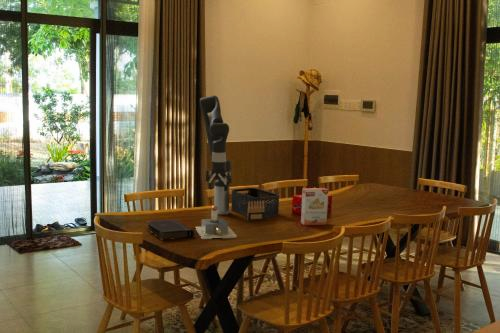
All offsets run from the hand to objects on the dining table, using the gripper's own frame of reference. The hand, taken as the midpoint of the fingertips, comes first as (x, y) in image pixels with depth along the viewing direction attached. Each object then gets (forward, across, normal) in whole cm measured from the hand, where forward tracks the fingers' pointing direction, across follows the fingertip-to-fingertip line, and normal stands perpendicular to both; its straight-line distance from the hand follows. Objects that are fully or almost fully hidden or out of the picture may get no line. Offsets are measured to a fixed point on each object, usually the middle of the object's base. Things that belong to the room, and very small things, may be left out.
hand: (218, 190), depth 303 cm
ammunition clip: (+23, +9, +31) cm, 40 cm away
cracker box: (+23, +42, +39) cm, 62 cm away
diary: (+23, -20, -18) cm, 35 cm away
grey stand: (+22, +2, -6) cm, 23 cm away
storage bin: (+24, +1, +50) cm, 55 cm away
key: (+21, 0, -4) cm, 21 cm away
